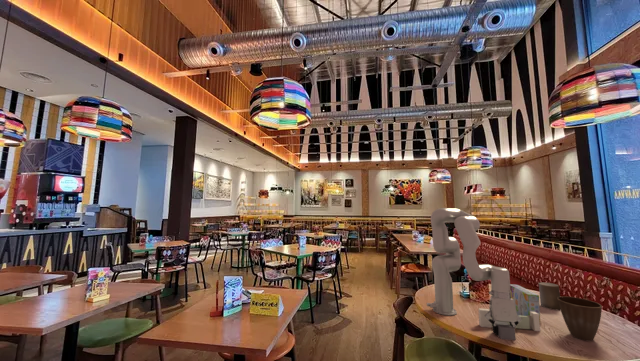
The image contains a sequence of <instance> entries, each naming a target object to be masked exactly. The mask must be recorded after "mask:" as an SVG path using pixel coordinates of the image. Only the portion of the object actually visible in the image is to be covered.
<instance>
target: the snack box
mask: <svg viewBox="0 0 640 361" xmlns="http://www.w3.org/2000/svg"><path fill="white" fill-rule="evenodd" d="M510 291H511V298H512V299H513V300H514V303H515V307H516V313H517V315H519V316H527V315H529V316H530V311H531V312H536V313H538V314H539V320H540V321H541V309H540V308H541V307H540V306H541V305H540V294H537V293H535V292H534V291H531V290H529V289H527V288H525V287H523V286H521V285H519V284H514V283H513V284H511V283H510ZM540 326H541V322H540Z"/></svg>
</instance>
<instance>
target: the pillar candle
mask: <svg viewBox="0 0 640 361" xmlns="http://www.w3.org/2000/svg"><path fill="white" fill-rule="evenodd" d="M538 288H539V289H538V291H539V304H540V306H541V307H542V308H545V309H549V310H553V311H555V310H556V311H561V310H560V306H559V302H558V297H561V293H560V285H558V284H557V283H556V284H555V283H551V282H544V281H543V282H538Z"/></svg>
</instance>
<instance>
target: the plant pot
mask: <svg viewBox="0 0 640 361" xmlns="http://www.w3.org/2000/svg"><path fill="white" fill-rule="evenodd" d="M558 302H559V306H560V310H559V311H560V312H561V315H562V318H563V321H564V323H565V325H566V327H567V329H568V331H569V333H570V335H571V336H572V337H574V338H576V339H579V340H582V341H587V342H592V341H594V340H595V337H596V335H597V332H598V329H599V327H600V322H601V317H602V311H603V310H602V309H603V305H601V303H598V302H597V301H596V302H595V301H594V300H593V301H592V300H590V299H585V298H580V297H574V296H560V297H558Z"/></svg>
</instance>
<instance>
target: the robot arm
mask: <svg viewBox="0 0 640 361" xmlns="http://www.w3.org/2000/svg"><path fill="white" fill-rule="evenodd" d="M446 223H454V224H453V225H454V227H455V229H456V232H457V235H458V237H459V239H460V241H461V244H462V246H463V248H462V249H463V250H462V256H461V248H460V243H459V241H458V240H457V238H455V237H453V236H449V231H448V227H447V225H446ZM430 224H431V229H432V230H431V231H432V232H431V233H432V246H433V250H434V251H435V252H436V253H439V254H442V255H437V256H434V257H433V258H432V261H431V267H432V270H433V276H434V278H433V279H434V300H433V302H426V306H427V307H429V308H432V311H433V312H434V313H436V314H439V315H442V316H456V315H457V313H458V311H457V310H456V309H455V308H454V294H453V293H454V291H453V280H452V279H453V278H452V277H451V274H450V272H457V271H458V270H460V268H461V266H462V262H463V266H464V267H465V270H466V272H467V274H468V276H469V277H470V278H471V280H473V281H476V282H481V281H490V285H491V288H490V289H491V290H490V291H488V294H489V295H490V298H489V308H488V309H489V312H488V313H487V314H485V317H486V318H487V319H488V321H489V322H491V324H492V333H493V332H494V333H493V334H495V336H497V335H498V326H497V323H498V321H504V322H509V323H510V325H511V326H512V327H514V328H515V327H516V325H517V324H518V323H519V322H520V321H521V320H522V319H521V318H520V317H519V316H518V315H517V313H516V307H515V303H514V300H513V299H512V298H511V291H510V284H511V280H510V279H511V277H510V270H509V269H507V268H505V267H500V266H495V265H492V264H488V263H483V264H482V263H480V264H479V263H478V261H477V256H476V253H477V252H476V251H477V249H478V248H479V246H480V245H481V243H482V242H481V240H480V238H479V236H478V234H477V231H478V230H479V229H480V227H481V223H480V221H479V219H478V218H477V217H476V216H474V215H472V214H470V213H468V212H466V211H464V210H462V209H459V208H455V207H453V208H452V207H440V208H437V209H435V210H433V211H432V213H431V216H430ZM443 254H444V255H443ZM461 257H462V260H461ZM490 316H491V317H493V318H492V320H491V319H490ZM515 329H516V328H515Z"/></svg>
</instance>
